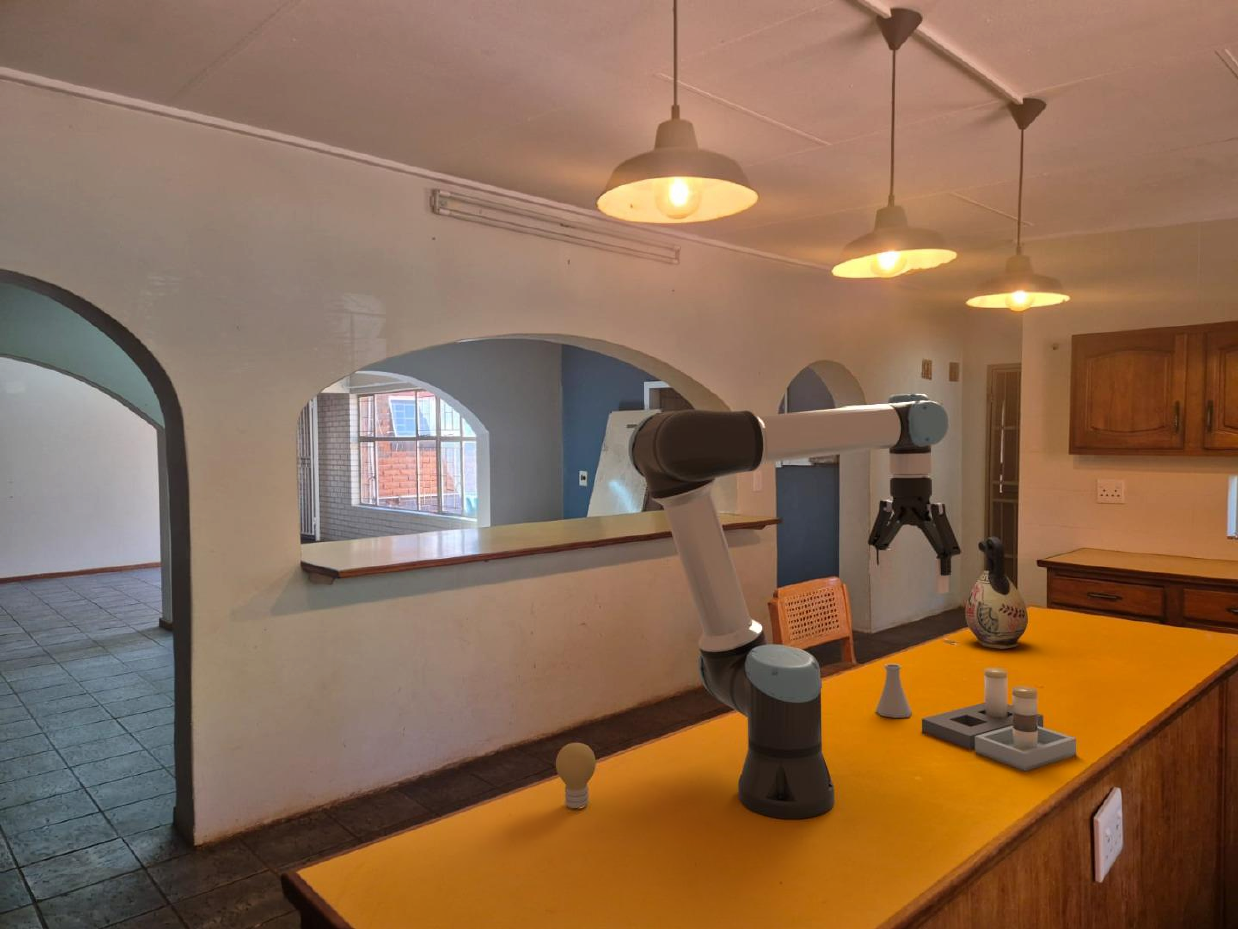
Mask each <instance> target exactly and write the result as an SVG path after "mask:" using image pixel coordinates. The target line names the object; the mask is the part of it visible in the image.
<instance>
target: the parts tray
mask: <svg viewBox="0 0 1238 929" xmlns="http://www.w3.org/2000/svg"><path fill="white" fill-rule="evenodd" d="M974 753H975V754H978V755H980V756H984V757H985V758H989V759H991V760H994V761H997V762H999V763H1000V764H1004V765H1006V766H1009V767H1012V768H1015V769H1018V770H1020V771H1022V772H1024V773H1025V772H1029V771H1031V770H1035V769H1038V768H1040V767H1044V766H1047V765H1050V764H1053V763H1056V762H1059V761H1062V760H1065V759H1068V758H1071V757H1075V756H1076V755H1077V737H1073V736H1070V735H1068V734H1065V733H1061V732H1058V731H1054V730H1051V729H1048V728H1046V727H1044V726H1043V727H1039V726H1038V747H1035V748H1032V749H1029V750H1026V751H1022V750H1019V749H1016V748H1013V726H1009V727H1006V728H1002V729H999V730H995V731H992V732H988V733H984V734H981V735H977V736H975V748H974Z"/></svg>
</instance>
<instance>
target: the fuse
mask: <svg viewBox="0 0 1238 929" xmlns="http://www.w3.org/2000/svg"><path fill="white" fill-rule="evenodd" d="M984 703H985V715H988V716H991V717H994V718H997V719H1002V718H1005V717H1008V715H1007V704H1008V671H1007V669H1004V668H999V667H986V668H984Z"/></svg>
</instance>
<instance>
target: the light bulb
mask: <svg viewBox="0 0 1238 929" xmlns="http://www.w3.org/2000/svg"><path fill="white" fill-rule="evenodd" d="M555 759H556V760H555V769H556V772H557V775H558V777H559V778H560V779H561V781H562V782H563V783H564V784H565V787H564V793H565V794H564V798H565V799H564V803H565V805H566V806H567V807H568V808H569V807H571V808H580V807H583V806H585V807H586V806H588V804H589V803H590V802H589V800H590V799H589V786H588V783H589V781H590V780H591V779H592V777H593V775H594V774H595V770H596V766H597V761H596V756H595V753H594V751H593V750H592V749H591V748H590V746H589V745H587V744H584V743H583V742H582V743H581V742H570V743H568V744H565V745H564V746H563V747H562V748H561V749H560V750H559V751H558V754H557V756H556V758H555ZM571 808H570V809H571Z"/></svg>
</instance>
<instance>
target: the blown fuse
mask: <svg viewBox="0 0 1238 929" xmlns="http://www.w3.org/2000/svg"><path fill="white" fill-rule="evenodd" d="M1011 692H1012V695H1011V696H1012V704H1011V705H1012V708H1013V748H1016V749H1019V750H1022V751H1026V750H1029V749H1032V748H1035V747H1038V721H1037V713H1038V689H1036V688H1033V687H1029V686H1024V685H1022V686H1021V685H1018V686H1013V687H1012V691H1011Z"/></svg>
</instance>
